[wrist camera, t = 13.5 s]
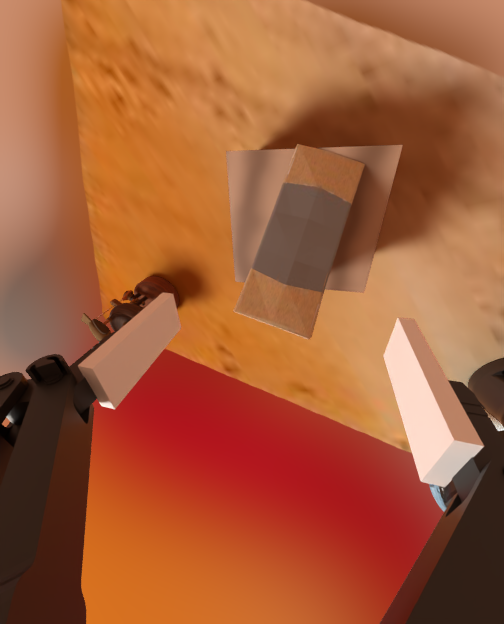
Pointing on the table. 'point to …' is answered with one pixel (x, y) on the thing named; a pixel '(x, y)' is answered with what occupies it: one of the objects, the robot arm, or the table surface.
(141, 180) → the table surface
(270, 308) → the sandwich container
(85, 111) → the table surface
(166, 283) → the small figurine
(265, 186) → the stool
